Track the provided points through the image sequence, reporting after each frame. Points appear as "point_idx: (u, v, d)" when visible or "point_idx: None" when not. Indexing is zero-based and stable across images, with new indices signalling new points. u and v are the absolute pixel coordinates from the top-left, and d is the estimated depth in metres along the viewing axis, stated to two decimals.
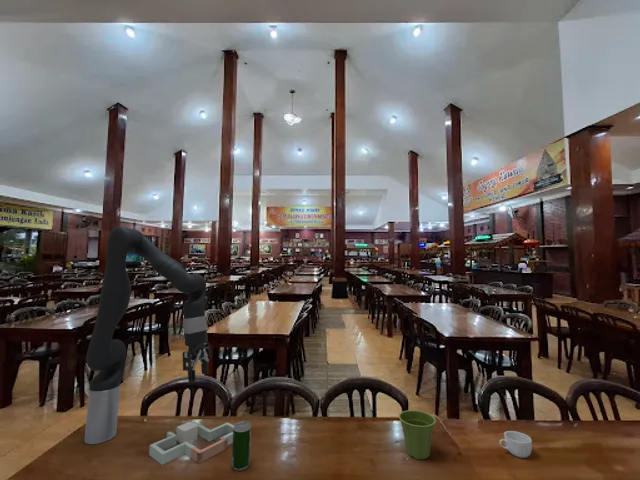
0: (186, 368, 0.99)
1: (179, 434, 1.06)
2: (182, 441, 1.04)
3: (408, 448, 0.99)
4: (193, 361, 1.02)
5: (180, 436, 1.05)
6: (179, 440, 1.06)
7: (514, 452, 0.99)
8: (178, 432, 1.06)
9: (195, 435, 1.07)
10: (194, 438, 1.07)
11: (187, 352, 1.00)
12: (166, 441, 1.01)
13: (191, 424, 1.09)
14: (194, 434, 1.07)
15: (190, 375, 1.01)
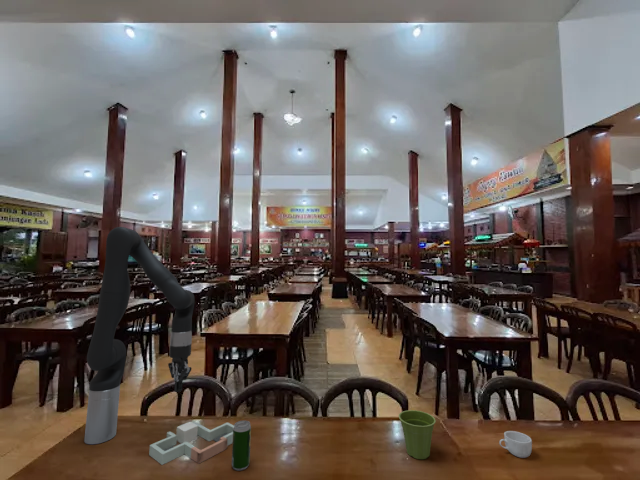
0: (183, 378, 1.12)
1: (179, 434, 1.06)
2: (182, 441, 1.04)
3: (408, 448, 0.99)
4: None
5: (180, 436, 1.05)
6: (179, 440, 1.06)
7: (514, 452, 0.99)
8: (178, 432, 1.06)
9: (195, 435, 1.07)
10: (194, 438, 1.07)
11: (189, 369, 1.11)
12: (166, 441, 1.01)
13: (191, 424, 1.09)
14: (194, 434, 1.07)
15: (181, 385, 1.13)
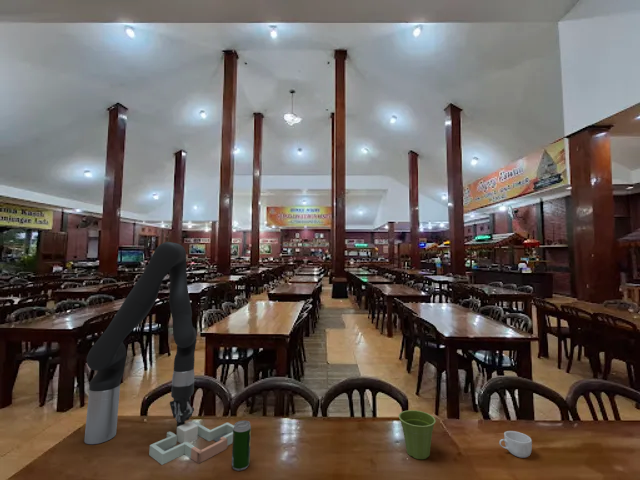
0: (185, 419, 1.09)
1: (180, 434, 1.06)
2: (182, 441, 1.04)
3: (408, 448, 0.99)
4: None
5: (181, 436, 1.05)
6: (179, 440, 1.06)
7: (514, 452, 0.99)
8: (178, 432, 1.06)
9: (195, 435, 1.07)
10: (194, 438, 1.07)
11: (192, 410, 1.08)
12: (166, 441, 1.01)
13: (191, 424, 1.09)
14: (194, 434, 1.07)
15: None
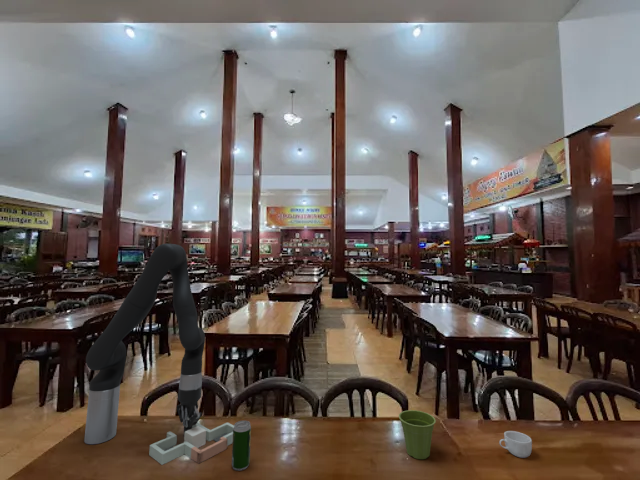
0: (193, 423, 1.06)
1: (187, 439, 1.02)
2: None
3: (408, 448, 0.99)
4: None
5: (188, 441, 1.02)
6: None
7: (514, 452, 0.99)
8: (186, 437, 1.03)
9: (203, 440, 1.04)
10: (202, 443, 1.04)
11: (200, 415, 1.05)
12: (166, 441, 1.01)
13: (199, 429, 1.06)
14: (202, 439, 1.04)
15: None
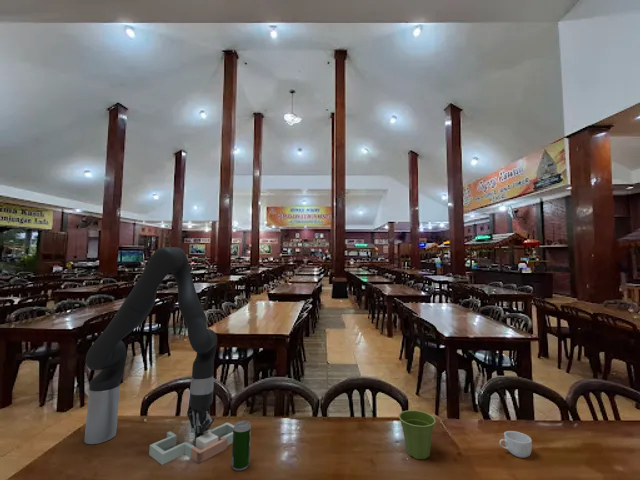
0: (204, 429, 1.02)
1: (199, 446, 0.98)
2: None
3: (408, 448, 0.99)
4: None
5: (200, 448, 0.98)
6: None
7: (514, 452, 0.99)
8: (198, 443, 0.99)
9: None
10: None
11: (212, 420, 1.01)
12: (166, 441, 1.01)
13: (211, 435, 1.02)
14: None
15: None
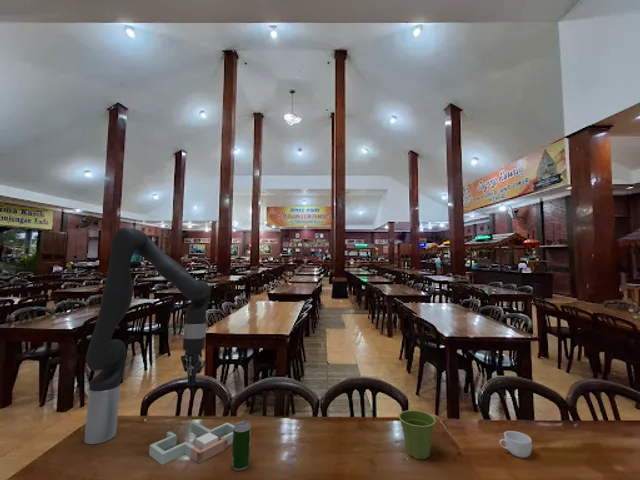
0: (197, 372, 1.08)
1: (199, 446, 0.98)
2: None
3: (408, 448, 0.99)
4: None
5: (200, 449, 0.98)
6: None
7: (514, 452, 0.99)
8: (197, 444, 0.99)
9: None
10: None
11: (203, 363, 1.07)
12: (166, 441, 1.01)
13: (211, 435, 1.02)
14: None
15: (194, 379, 1.09)
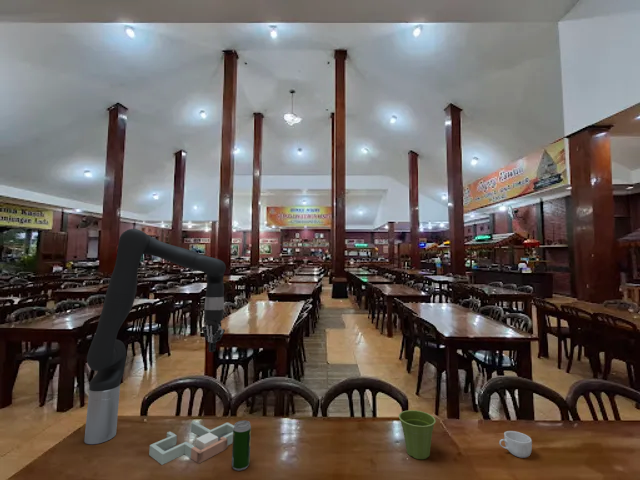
0: (217, 339, 1.22)
1: (199, 446, 0.98)
2: None
3: (408, 448, 0.99)
4: None
5: (200, 449, 0.98)
6: None
7: (514, 452, 0.99)
8: (197, 444, 0.99)
9: None
10: None
11: (223, 331, 1.21)
12: (166, 441, 1.01)
13: (211, 435, 1.02)
14: None
15: (214, 345, 1.23)
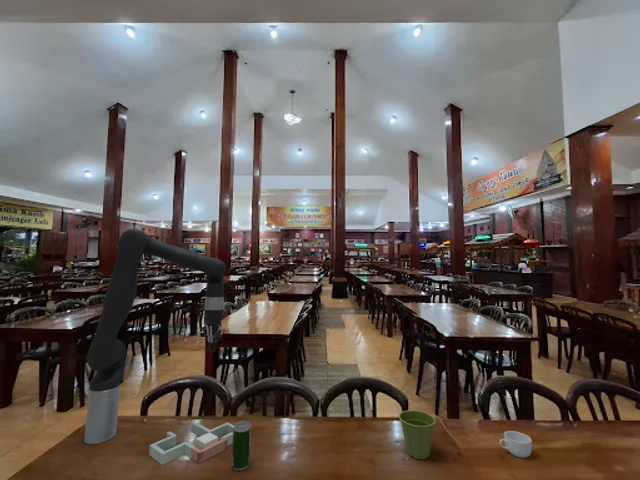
0: (217, 339, 1.22)
1: (199, 446, 0.98)
2: None
3: (408, 448, 0.99)
4: None
5: (200, 449, 0.98)
6: None
7: (514, 452, 0.99)
8: (197, 444, 0.99)
9: None
10: None
11: (223, 331, 1.21)
12: (166, 441, 1.01)
13: (211, 435, 1.02)
14: None
15: (214, 345, 1.23)
